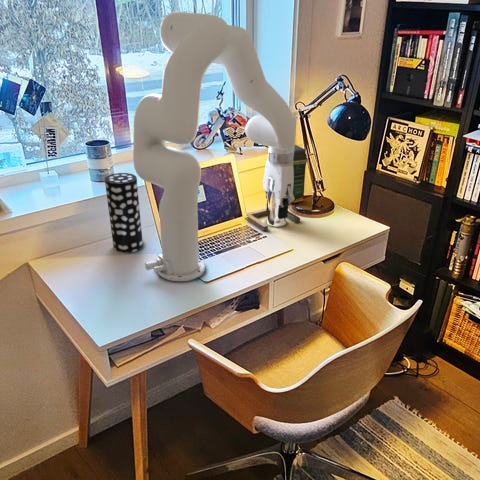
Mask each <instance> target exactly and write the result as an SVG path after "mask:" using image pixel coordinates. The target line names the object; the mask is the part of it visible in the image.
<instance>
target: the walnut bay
mask: <svg viewBox="0 0 480 480" xmlns="http://www.w3.org/2000/svg"><path fill="white" fill-rule="evenodd" d="M266 209H267V208H264V209H259V210H254V211H250V212H246V213H247V216H248V217H247V218H248V219H247V221H248V222H249V223H251V224H252V225H254V226H255V227H257V228H258V229H259V230H261V231H263V232H266V231H269V225H268V224H267V223H265V222H263V221H261V220H260V219H259V217H264V216H268V214H269V212H267V211H266ZM286 219H288V220H290V221H291V222H293V223H295V224H299V223H301V217H300V216H298V215H296V214H294V213H292V212H291V211H289V210H288V216H287V218H286Z"/></svg>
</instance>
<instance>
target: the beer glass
mask: <svg viewBox="0 0 480 480" xmlns="http://www.w3.org/2000/svg"><path fill="white" fill-rule="evenodd" d="M285 196H287V193H286V194H285ZM267 199H268V207H269V214H268V215H267V219H266V225H267V226H271V227H274V228H275V227H277V228H279V227H283V226H286V224H287V218H283V219H279V218H278V212H279V207H280V199H278V198H276V197H275V180H274V179H272V178H270V177H269V179H268V186H267V198H266V200H267ZM286 199H287V198H284V199H283V202H284V201H285V200H286Z"/></svg>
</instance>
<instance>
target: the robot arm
mask: <svg viewBox="0 0 480 480" xmlns="http://www.w3.org/2000/svg"><path fill="white" fill-rule="evenodd" d="M159 36H160V37H159V38H160V40H161V43H162V45H163V46H164V48H165V49H166V50H167V51H168V52H169V53H171V54H170V56H169V58H168V59H167V61H166V63H165V66H164V69H163V74H162V83H161V94H159V93H150V94H147V95H145V96H143V97H142V98H141V99H140V101H139V102H138V104H137V105H136V109H135V111H134V114H133V115H134V116H133V147H132V149H133V152H132V153H133V155H132V156H133V158H132V159H133V168H134V171H135V173H136V174H137V176H138V177H139V178H140V179H141V180H143V181H145V182H147V183H149V184H151V185H152V184H154V185H156V186H158V187H160V188H162V189H163V194H162V196H161V199H160V201H159V205H158V214H159V227H160V230H159V231H160V241H161V242H160V243H161V244H160V245H161V253H160V254H158V258H156V259H155V260H154V261H148V262H144V268H145V270H146V271H149V270H153V272H154V273H157V274H158V275H159V276H160V277H161V278H163V279H165V280H168V281H172V282H188V281H192V280H195V279H198V278H200V277H201V276H202V275H203V274H204V273H205V271H206V265H205V263H204V261H203V260H202V259H200V253H199V252H200V250H199V248H200V247H199V210H198V209H199V208H198V206H199V205H198V204H199V203H198V202H199V199H198V198H199V190H200V184H201V178H202V167H201V164H200V162H199V161H198V159H197V157H195V156H194V155H193V154H191V153H190V152H188V151H185V150H182V149H178V148H176V147H172V146H168V145H166V143H167V142H169V143H172V144H176V145H188V144H191V143H193V141H194V140H195V139H196V138H197V137H196V136H197V133H198V130H199V129H198V128H199V120H200V119H199V117H200V106H201V105H200V104H201V103H200V102H201V93H202V84H203V80H204V77H205V74H206V72H207V70H208V69H209V67H211V65H212V64H216V65H221V66H222V67H223V69H224V72H225V74H226V76H227V79H228V81H229V84H230V86H231V89H232V91H233V94H234V96H235V98H237V99H238V101H240V102H241V103H242V104H243V105H245V106H246V107H248V108H249V109H252V110H253V111H255V112H256V113H258V114H257V115H254V116H252V117H251V118H249V119H248V121H247V123H246V124H245V129H244V132H245V135H246V137H247V139H248V140H249V141H250V142H252V143H254V144H258V145H261V146H266V147H268V150H267V151H268V154H267V159H266V162H265V167H264V173H263V180H262V189H263V191H264V192H265V199H266V208H265V209H266V211H267V212H269V207H268V199H267V186H268V179H269V177H270V178H272V179H274V180H275V197H276V198H278V199H280V207H279V212H278V218H279V219H283V218H286V219H288V218H287V216H288V211H289V207H290V206H291V204H293V203H292V202H293V201H294V200H295V198H294V195H293V185H294V169H293V158H294V146H295V145H296V136H297V115H296V114H295V113H292V110H291V108H290V107H289V105H288V103H287V102H286V100H285V99H284V98H283V97H282V96H281V95H280V94H279V93H278V92H277V90H276V89H275V88H274V87H273V86H272V85H271V84H270V83H269V82H268V81H267V79H266V77H265V74H264V70H263V68H262V65H261V62H260V59H259V57H258V54H257V50H256V48H255V45H254V43H253V39H252V36H251V35H250V33H249V32H248V30H246V29H245V28H243V27H241V26H237V25H232V24H228V23H227V22H226V21H225V20H224V19H223V18H222V17H219V16H217V15H214V14H210V13H209V14H207V13H200V12H199V13H198V12H189V11H188V12H187V11H172V12H169V13H168V14H166V15H165V16H164V17H163V19H162V20H161V23H160V27H159ZM286 193H287V196H285V194H286ZM284 198H287V199H286V200H285V201H284V202H283V199H284Z"/></svg>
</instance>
